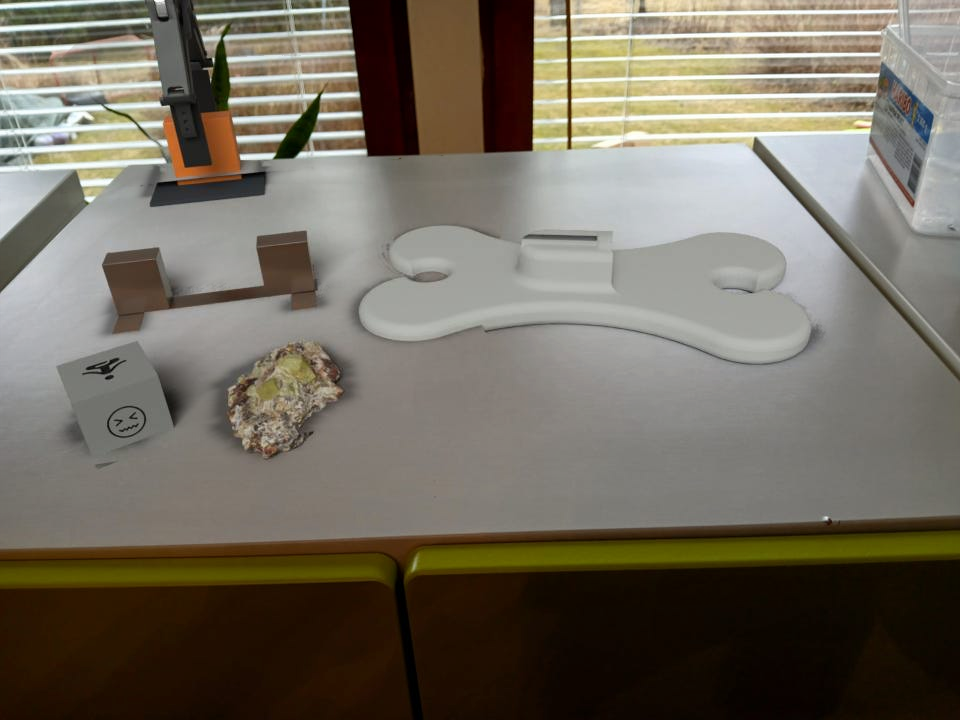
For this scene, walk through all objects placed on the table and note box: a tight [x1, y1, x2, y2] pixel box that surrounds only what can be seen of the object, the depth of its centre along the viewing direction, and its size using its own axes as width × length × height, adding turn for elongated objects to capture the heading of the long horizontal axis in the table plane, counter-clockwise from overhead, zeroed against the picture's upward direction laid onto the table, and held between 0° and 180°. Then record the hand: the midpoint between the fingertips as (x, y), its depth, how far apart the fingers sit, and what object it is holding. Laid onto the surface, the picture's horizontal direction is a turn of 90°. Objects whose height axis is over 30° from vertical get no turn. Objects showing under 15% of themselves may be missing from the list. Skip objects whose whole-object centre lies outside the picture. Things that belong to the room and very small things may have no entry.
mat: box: [149, 170, 266, 207], centre depth 91 cm, size 12×12×1 cm
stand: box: [101, 230, 319, 335], centre depth 64 cm, size 8×16×6 cm, turn 102°
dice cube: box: [55, 340, 175, 470], centre depth 51 cm, size 5×5×5 cm
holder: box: [358, 224, 813, 365], centre depth 64 cm, size 19×34×5 cm, turn 82°
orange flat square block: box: [162, 110, 243, 185], centre depth 89 cm, size 3×7×7 cm, turn 102°
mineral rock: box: [226, 339, 344, 460], centre depth 53 cm, size 11×4×8 cm
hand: (203, 145), depth 89 cm, fingers open, 13 cm apart
